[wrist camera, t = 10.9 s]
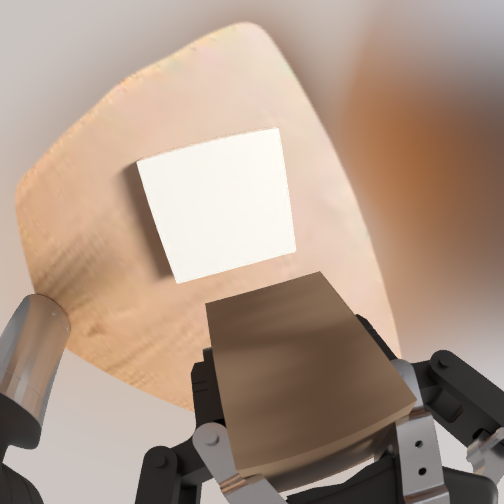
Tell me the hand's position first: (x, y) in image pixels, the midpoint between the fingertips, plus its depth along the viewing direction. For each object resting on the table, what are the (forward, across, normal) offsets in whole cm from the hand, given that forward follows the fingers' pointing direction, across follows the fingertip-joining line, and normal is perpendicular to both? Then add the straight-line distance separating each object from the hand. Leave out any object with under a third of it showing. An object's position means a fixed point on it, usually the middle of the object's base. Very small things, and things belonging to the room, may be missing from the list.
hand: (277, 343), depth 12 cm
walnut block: (+1, 0, 0) cm, 1 cm away
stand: (+21, 0, 0) cm, 21 cm away
